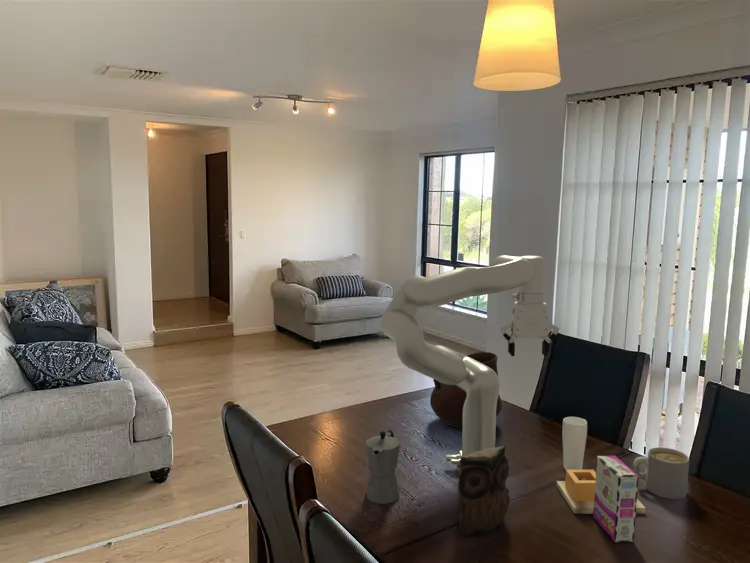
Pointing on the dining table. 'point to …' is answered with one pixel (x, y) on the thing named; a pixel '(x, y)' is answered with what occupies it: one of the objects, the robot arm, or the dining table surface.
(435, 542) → the dining table surface
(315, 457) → the dining table surface
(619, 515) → the candy bar box
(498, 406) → the jug
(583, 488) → the small open box
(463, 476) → the owl
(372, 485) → the coffeepot
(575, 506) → the board
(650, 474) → the coffee mug
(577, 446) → the drinking glass
